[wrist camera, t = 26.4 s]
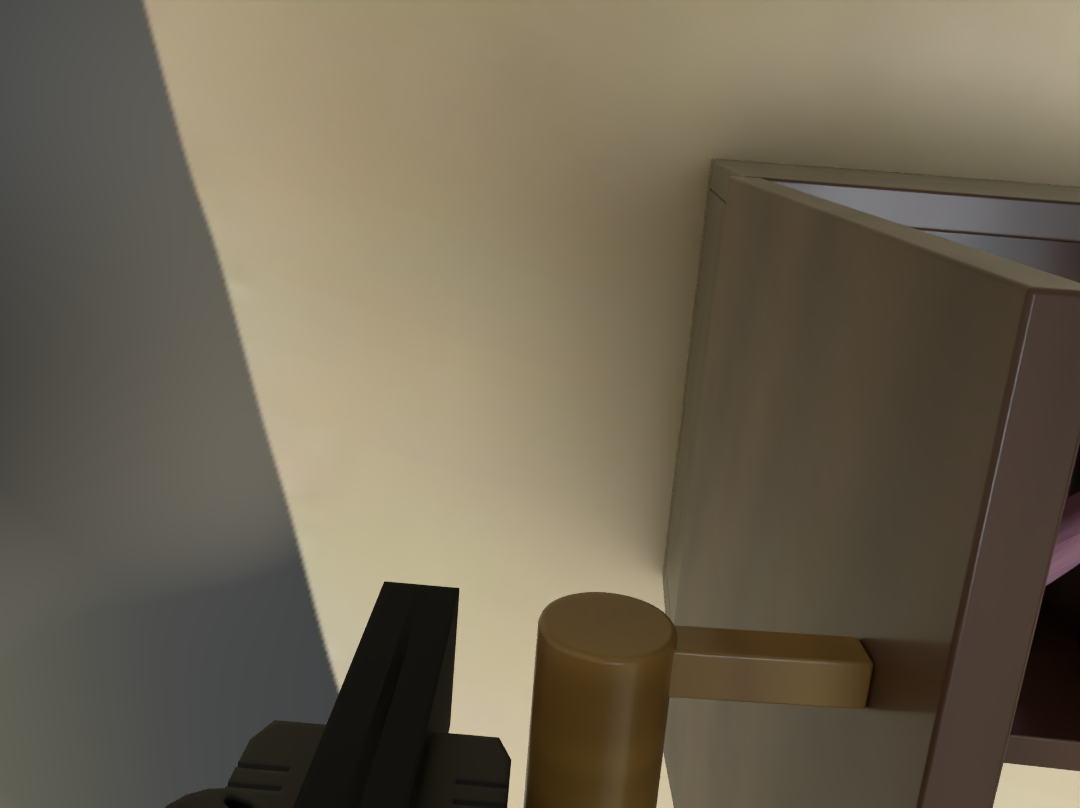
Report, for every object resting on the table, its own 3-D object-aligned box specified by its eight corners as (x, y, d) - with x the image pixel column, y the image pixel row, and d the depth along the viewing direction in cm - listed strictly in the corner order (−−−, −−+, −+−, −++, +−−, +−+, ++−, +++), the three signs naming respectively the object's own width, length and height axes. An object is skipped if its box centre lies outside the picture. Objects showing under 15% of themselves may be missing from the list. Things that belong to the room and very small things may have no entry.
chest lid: (1117, 294, 9) (576, 254, 9) (849, 1419, 14) (481, 1401, 14) (762, 178, 25) (554, 162, 24) (688, 737, 29) (512, 726, 29)
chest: (1157, 192, 34) (1368, 224, 24) (1054, 617, 38) (1196, 785, 29) (711, 158, 35) (743, 175, 25) (661, 577, 39) (673, 726, 30)
